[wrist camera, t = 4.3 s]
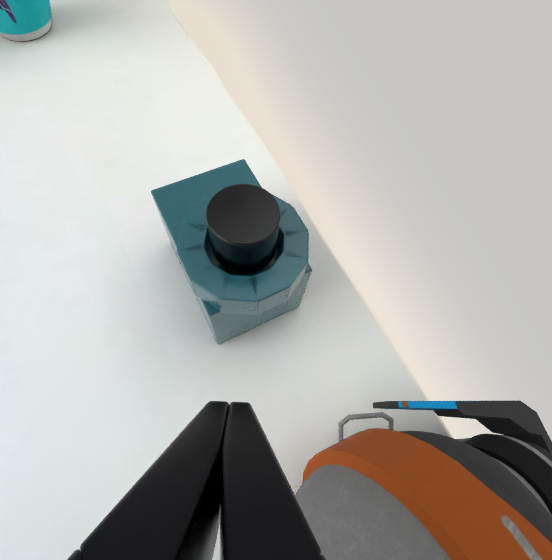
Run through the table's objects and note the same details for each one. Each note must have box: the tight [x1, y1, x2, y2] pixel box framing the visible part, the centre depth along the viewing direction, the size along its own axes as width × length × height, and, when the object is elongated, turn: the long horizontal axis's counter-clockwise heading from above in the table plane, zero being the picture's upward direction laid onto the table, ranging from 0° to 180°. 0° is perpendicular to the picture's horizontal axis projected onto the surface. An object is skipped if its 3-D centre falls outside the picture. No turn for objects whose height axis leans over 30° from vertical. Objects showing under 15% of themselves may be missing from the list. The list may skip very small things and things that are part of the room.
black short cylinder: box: [206, 184, 281, 273], centre depth 15 cm, size 3×3×3 cm
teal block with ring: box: [151, 159, 312, 344], centre depth 20 cm, size 9×6×7 cm, turn 27°
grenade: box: [295, 401, 552, 560], centre depth 14 cm, size 11×10×15 cm
